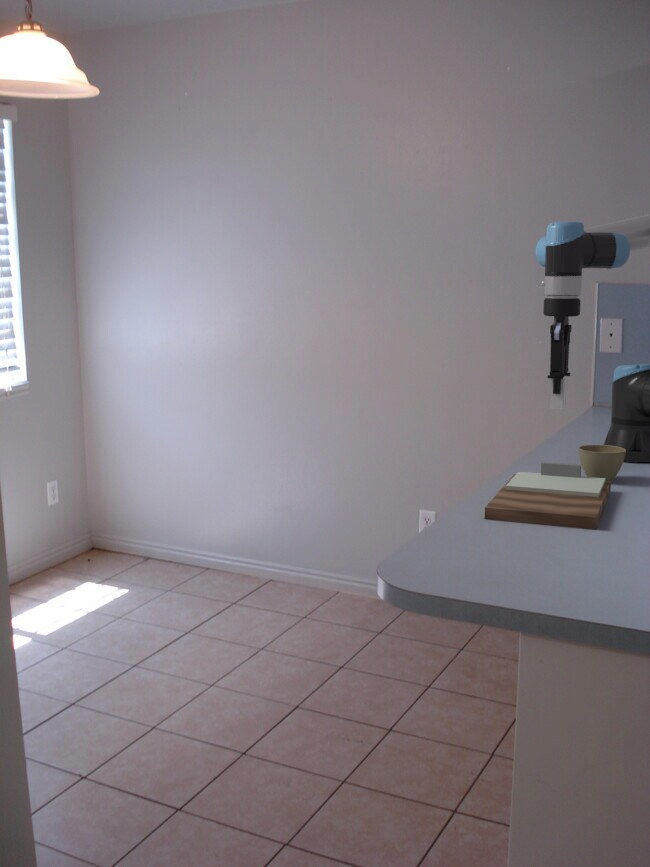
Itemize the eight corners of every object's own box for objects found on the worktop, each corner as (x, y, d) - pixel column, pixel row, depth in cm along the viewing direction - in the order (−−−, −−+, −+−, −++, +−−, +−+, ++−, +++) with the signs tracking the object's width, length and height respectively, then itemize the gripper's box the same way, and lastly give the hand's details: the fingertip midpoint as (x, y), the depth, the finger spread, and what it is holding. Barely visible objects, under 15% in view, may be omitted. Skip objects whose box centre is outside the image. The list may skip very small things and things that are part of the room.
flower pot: (626, 486, 202) (628, 453, 201) (578, 484, 204) (579, 451, 203) (621, 476, 212) (623, 445, 211) (575, 474, 214) (577, 443, 213)
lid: (518, 475, 203) (518, 460, 202) (605, 482, 196) (606, 466, 196) (505, 489, 190) (506, 473, 189) (598, 497, 184) (599, 480, 183)
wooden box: (514, 483, 205) (514, 473, 205) (610, 491, 198) (610, 481, 197) (484, 518, 177) (484, 507, 176) (595, 529, 169) (596, 517, 169)
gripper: (549, 295, 208) (545, 401, 212) (538, 298, 193) (534, 412, 197) (584, 296, 205) (580, 403, 209) (576, 298, 190) (571, 414, 194)
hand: (557, 407), depth 203 cm, fingers open, 3 cm apart
